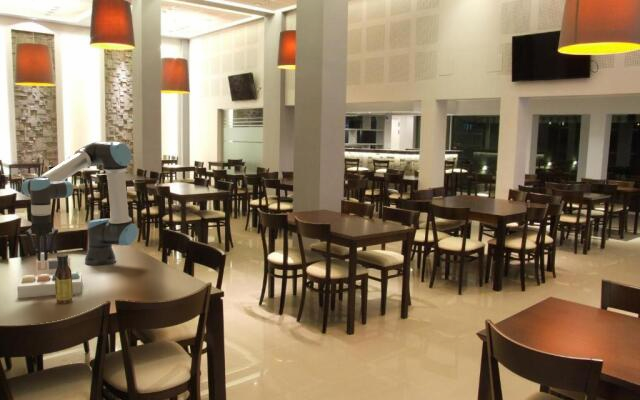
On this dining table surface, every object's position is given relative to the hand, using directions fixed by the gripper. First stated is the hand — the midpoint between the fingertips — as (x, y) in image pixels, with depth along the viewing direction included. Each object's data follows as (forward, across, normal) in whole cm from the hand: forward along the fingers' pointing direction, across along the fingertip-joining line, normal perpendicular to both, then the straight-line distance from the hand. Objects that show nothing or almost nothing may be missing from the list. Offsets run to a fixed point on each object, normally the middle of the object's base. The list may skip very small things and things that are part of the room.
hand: (43, 267), depth 226 cm
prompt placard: (+10, -3, -13) cm, 17 cm away
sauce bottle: (+11, -9, +19) cm, 23 cm away
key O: (+7, -6, 0) cm, 9 cm away
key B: (+7, 0, 0) cm, 7 cm away
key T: (+7, +6, 0) cm, 9 cm away
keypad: (+10, -3, 0) cm, 11 cm away
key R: (+7, -12, 0) cm, 14 cm away
